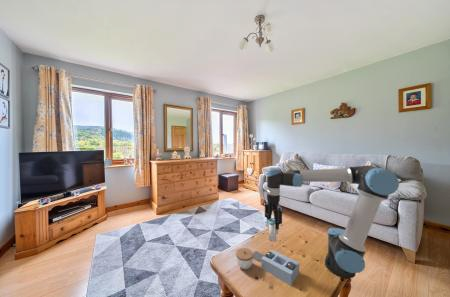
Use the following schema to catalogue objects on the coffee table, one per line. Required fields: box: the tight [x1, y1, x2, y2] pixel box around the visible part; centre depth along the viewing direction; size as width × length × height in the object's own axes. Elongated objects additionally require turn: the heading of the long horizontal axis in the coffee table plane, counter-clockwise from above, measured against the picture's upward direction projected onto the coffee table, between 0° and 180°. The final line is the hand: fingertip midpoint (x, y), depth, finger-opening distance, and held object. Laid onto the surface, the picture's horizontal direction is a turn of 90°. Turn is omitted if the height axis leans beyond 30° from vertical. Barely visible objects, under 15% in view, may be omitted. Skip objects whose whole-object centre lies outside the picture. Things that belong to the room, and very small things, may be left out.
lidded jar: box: [235, 247, 254, 270], centre depth 101 cm, size 11×11×9 cm
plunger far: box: [266, 251, 272, 259], centre depth 101 cm, size 3×3×4 cm
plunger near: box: [288, 262, 294, 271], centre depth 92 cm, size 3×3×4 cm
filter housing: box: [260, 249, 300, 286], centre depth 97 cm, size 12×18×6 cm, turn 46°
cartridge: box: [268, 219, 277, 243], centre depth 100 cm, size 5×5×11 cm
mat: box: [253, 250, 265, 262], centre depth 109 cm, size 7×7×1 cm
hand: (272, 231), depth 100 cm, fingers closed on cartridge, 5 cm apart
